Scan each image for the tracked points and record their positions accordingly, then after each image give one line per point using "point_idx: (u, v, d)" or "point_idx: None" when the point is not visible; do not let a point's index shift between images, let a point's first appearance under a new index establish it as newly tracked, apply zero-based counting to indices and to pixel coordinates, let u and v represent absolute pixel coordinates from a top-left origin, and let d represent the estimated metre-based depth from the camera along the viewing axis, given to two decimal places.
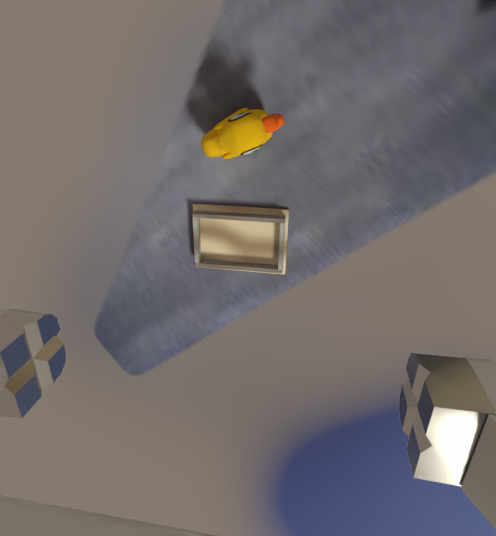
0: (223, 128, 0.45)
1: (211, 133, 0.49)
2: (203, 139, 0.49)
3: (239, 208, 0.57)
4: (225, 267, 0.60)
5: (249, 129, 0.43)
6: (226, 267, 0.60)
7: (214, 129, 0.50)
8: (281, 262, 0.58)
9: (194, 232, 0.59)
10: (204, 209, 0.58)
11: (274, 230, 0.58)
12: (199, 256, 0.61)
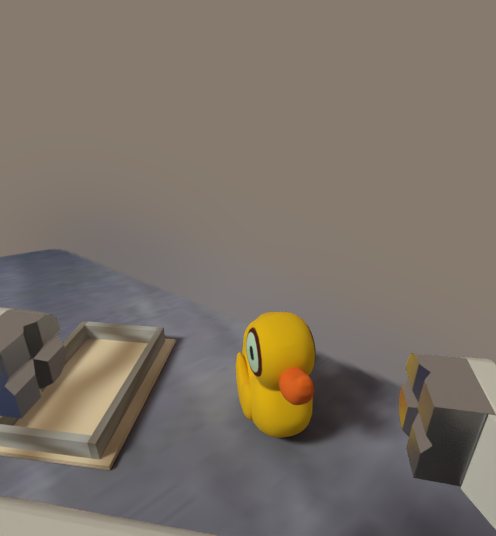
0: None
1: None
2: None
3: (146, 389, 0.33)
4: None
5: (291, 330, 0.25)
6: None
7: None
8: (6, 430, 0.27)
9: (134, 326, 0.39)
10: (162, 350, 0.38)
11: None
12: (94, 329, 0.39)
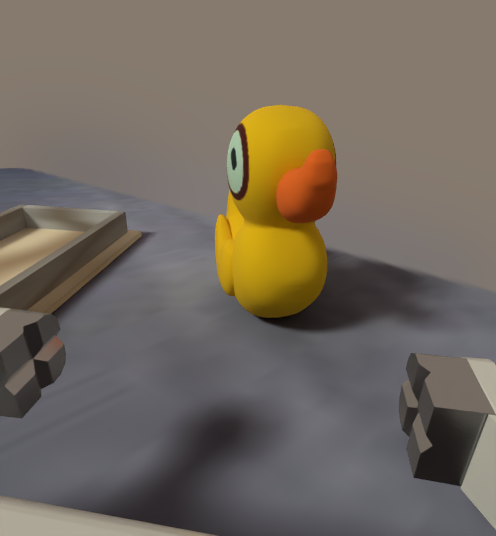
0: None
1: None
2: None
3: (89, 271, 0.23)
4: None
5: (299, 114, 0.15)
6: None
7: None
8: None
9: (87, 210, 0.29)
10: (122, 238, 0.28)
11: None
12: (34, 213, 0.29)
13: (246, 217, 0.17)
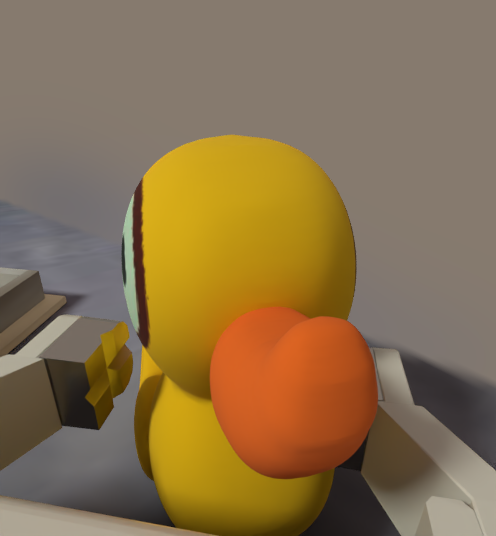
0: None
1: None
2: None
3: None
4: None
5: (270, 164, 0.06)
6: None
7: None
8: None
9: None
10: (31, 312, 0.19)
11: None
12: None
13: None
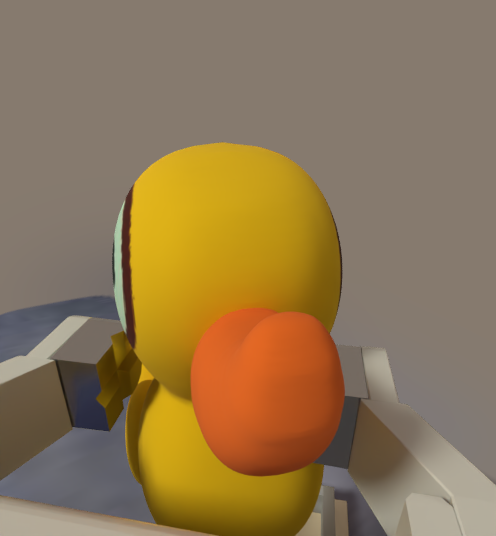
0: None
1: None
2: None
3: None
4: None
5: (256, 169, 0.06)
6: None
7: None
8: None
9: None
10: (335, 530, 0.21)
11: None
12: None
13: None
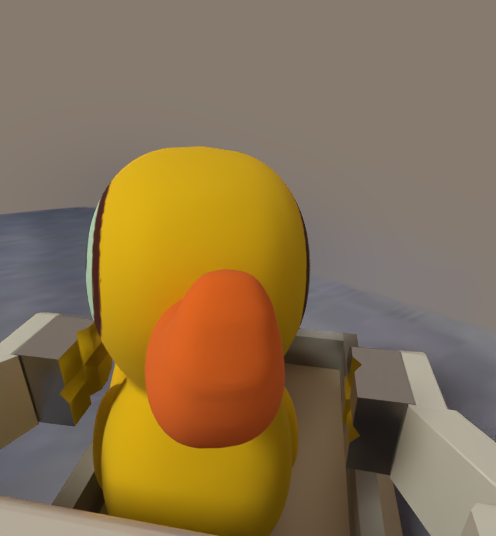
0: None
1: None
2: None
3: (391, 507, 0.12)
4: None
5: (226, 165, 0.07)
6: None
7: None
8: None
9: None
10: None
11: None
12: None
13: None
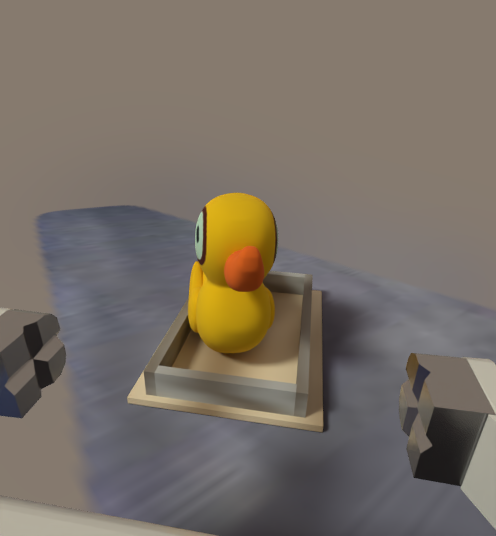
0: None
1: None
2: None
3: (319, 341, 0.26)
4: None
5: (248, 206, 0.20)
6: None
7: None
8: (177, 374, 0.20)
9: (275, 272, 0.32)
10: (312, 301, 0.31)
11: None
12: None
13: (206, 277, 0.22)
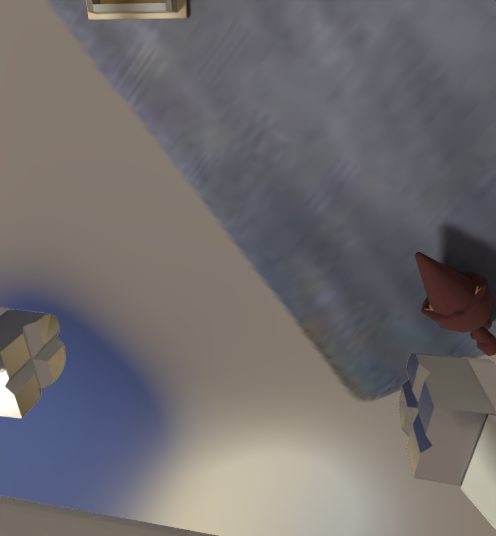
0: None
1: None
2: None
3: None
4: None
5: None
6: None
7: None
8: (105, 9, 0.38)
9: None
10: None
11: None
12: None
13: None
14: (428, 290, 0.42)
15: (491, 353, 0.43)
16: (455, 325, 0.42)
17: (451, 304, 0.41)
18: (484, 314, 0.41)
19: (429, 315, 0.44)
